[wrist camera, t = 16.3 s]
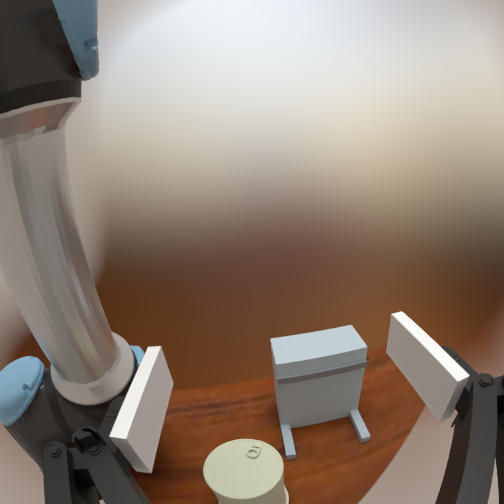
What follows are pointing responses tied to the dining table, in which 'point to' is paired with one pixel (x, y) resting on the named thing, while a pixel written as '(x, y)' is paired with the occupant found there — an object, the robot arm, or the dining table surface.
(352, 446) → the dining table surface
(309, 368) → the pale blue footed box
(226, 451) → the can
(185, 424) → the dining table surface
